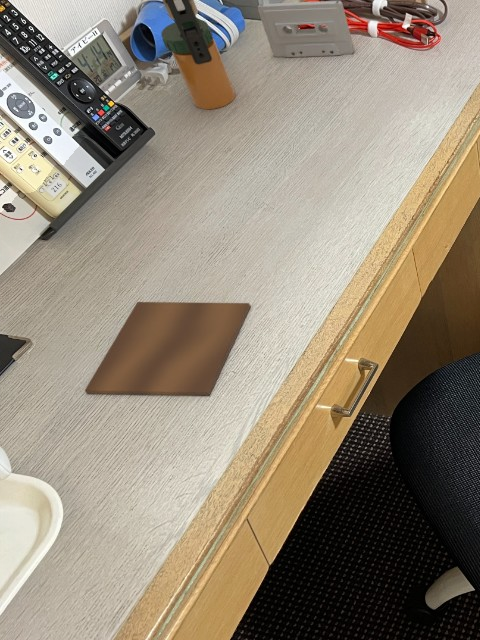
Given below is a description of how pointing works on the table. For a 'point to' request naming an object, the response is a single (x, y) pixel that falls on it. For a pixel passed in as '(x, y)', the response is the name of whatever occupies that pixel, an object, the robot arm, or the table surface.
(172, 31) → the lid
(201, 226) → the table surface
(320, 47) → the cassette
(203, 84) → the jar
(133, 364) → the coaster
